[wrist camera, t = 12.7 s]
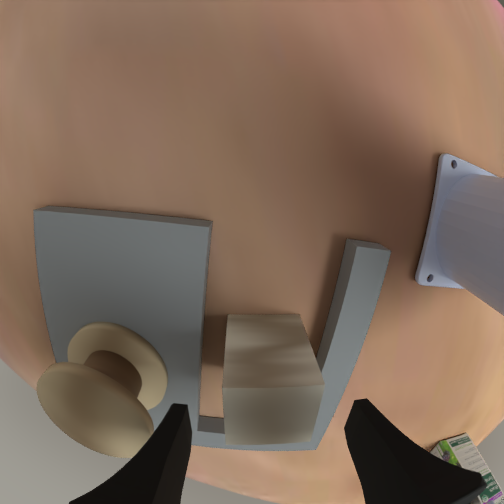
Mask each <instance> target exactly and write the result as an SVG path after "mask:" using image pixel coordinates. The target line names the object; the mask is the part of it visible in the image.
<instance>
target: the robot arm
mask: <svg viewBox="0 0 504 504" xmlns="http://www.w3.org/2000/svg"><path fill="white" fill-rule="evenodd" d="M451 162H453V167H452V166H451ZM429 275H430V277H429V279H428V280H427V277H428V276H429ZM415 280H416V282H417V283H418V284H420V285H425V286H437V287H449V288H461V289H466V290H468V291H469V292H471V293H472V294H474V295H475V296H477V297H478V298H480V299H481V300H482V301H484V302H485V303H487V304H488V305H489V306H491V307H492V308H494V309H495V310H496V311H498V312H499V313H501V314H502V315H503V316H504V178H501V177H497V176H495V175H494V174H492V173H490V172H488V171H486V170H484V169H481V168H479V167H477V166H475V165H473V164H471V163H469V162H466V161H464V160H462V159H460V158H457V157H455V156H453V155H450V154H446V153H443V154H441V156H440V157H439V163H438V171H437V178H436V185H435V191H434V197H433V203H432V208H431V213H430V218H429V223H428V228H427V232H426V237H425V241H424V245H423V249H422V253H421V257H420V260H419V264H418V268H417V271H416V275H415ZM344 430H345V435H346V440H347V445H348V448H349V451H350V454H351V457H352V460H353V462H354V465H355V468H356V471H357V474H358V476H359V479H360V482H361V485H362V489H363V493H364V498H365V503H366V504H471V503H470V502H472V501H473V500H474V499H475V498H476V497H477V496H479V495H480V494H481V493H482V492H483V491H484V490H485V489H486V487H487V483H486V482H485V480H484V478H483V477H482V475H481V473H479V472H475V471H471V470H468V469H464V468H461V467H459V466H456V465H453V464H451V463H449V462H446V461H444V460H442V459H440V458H438V457H436V456H434V455H433V454H431V453H429V452H428V451H426V450H425V449H423V448H422V447H420V446H418V445H417V444H416V443H414V442H413V441H412V440H410V439H409V438H408V437H407V436H405V435H404V434H403V433H402V432H401V431H400V430H398V429H397V428H396V427H395V426H394V425H393V424H392V423H391V422H390V421H389V420H388V419H387V418H386V417H385V416H384V415H383V414H382V413H381V412H380V411H379V410H378V409H377V408H376V407H375V406H374V405H373V404H372V403H371V402H370V401H369V400H368V399H367V398H366V399H360V400H354V403H353V406H352V409H351V411H350V414H349V417H348V419H347V422H346V424H345V427H344ZM191 443H192V427H191V422H190V416H189V410H188V404H178V403H173V404H171V406H170V408H169V410H168V411H167V413H166V415H165V416H164V418H163V420H162V421H161V423H160V424H159V426H158V427H157V428H156V430H155V431H154V433H153V434H152V435H151V437H150V438H149V439H148V441H147V442H146V443H145V444H144V445H143V447H142V448H141V449H140V450H139V451H138V452H137V454H136V455H135V456H134V457H133V458H132V459H131V460H130V461H129V462H128V463H127V464H126V465H125V466H124V467H123V468H121V470H119V471H118V472H117V473H116V474H114V475H113V476H112V477H111V478H110V479H108V480H107V481H105V482H104V483H102V484H101V485H99V486H98V487H96V488H95V489H93V490H92V491H90V492H88V493H86V494H85V495H82V496H80V497H78V498H76V499H75V500H72V501H70V502H69V504H180V501H181V495H182V489H183V484H184V480H185V475H186V471H187V466H188V462H189V457H190V452H191ZM486 504H495V503H494V502H493V500H491V501H489V502H488V503H486Z"/></svg>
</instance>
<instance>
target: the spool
mask: <svg viewBox="0 0 504 504" xmlns="http://www.w3.org/2000/svg"><path fill="white" fill-rule="evenodd" d="M67 354H68V362H59V363H55V364H53V365H51V366H50V367H48V369H47V370H46V371H45V372H44V374H43V375H42V376H41V378H40V379H39V380H38V383H37V395H38V398H39V401H40V403H41V405H42V407H43V409H44V411H45V412H46V414H47V415H48V416H49V417H50V419H51V420H52V421H53V422H54V423H55V424H56V425H57V426H58V427H59V428H60V429H61V430H62V431H63V432H64V433H65V434H67V435H68V436H69V437H71V438H72V439H74V440H75V441H77V442H78V443H80V444H82V445H84V446H85V447H87V448H89V449H91V450H94V451H96V452H99V453H102V454H105V455H109V456H113V457H120V458H131V457H134V456H135V455H136V454H137V452H138V451H139V450H140V449H141V448H142V447H143V445H144V444H145V443H146V442H147V441H148V439H149V438H150V437H151V435H152V434H153V433H154V425H153V421H152V418H151V416H150V414H149V413H148V411H147V410H149V409H152V408H154V407H155V406H157V405H158V404H159V403H160V402H161V401H162V399H163V397H164V395H165V391H166V388H167V384H168V372H167V368H166V365H165V363H164V361H163V359H162V357H161V356H160V354H159V353H158V352H157V350H156V349H155V348H154V347H153V346H152V345H151V344H150V343H149V342H148V341H147V340H146V339H145V338H143V337H142V336H140V335H139V334H138V333H136V332H134V331H133V330H131V329H129V328H127V327H124V326H122V325H119V324H115V323H111V322H93V323H89V324H87V325H85V326H83V327H82V328H81V329H80V330H79V331H78V332H77V333H76V334H75V336H74V337H73V338H72V339H71V341H70V343H69V346H68V352H67Z"/></svg>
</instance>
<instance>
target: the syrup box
mask: <svg viewBox="0 0 504 504" xmlns="http://www.w3.org/2000/svg"><path fill="white" fill-rule="evenodd" d="M430 453H431V454H433V455H434V456H436V457H438V458H440V459H442V460H444V461H446V462H449V463H451V464H453V465H456V466H459V467H461V468H464V469H468V470H471V471H475V472H479V473H481V475H482V477H483V478H484V480H485V482H486V483H487V487H486V489H485V490H484V491H483V492H482V493H481V494H480V495H479V496H477V497H476V498H475V499H474V500H473V501H472V502H470V503H471V504H486V503H488V502H489V501H491V500H493V502H494V503H495V504H504V493H503V491H502V489H501V488H500V486H499V484H498V483H497V481H496V479H495V477H494V476H493V474H492V472H491V471H490V469H489V467H488V466H487V464H486V462H485V461H484V459H483V457H482V456H481V454H480V453H479V451H478V450H477V448H476V446H475V445H474V443H473V442H472V440H471V438H470V437H469V435H468V434H467V433H464V434H463V435H460V436H457V437H454V438H450V439H447V440H442V441H440V442H439V443H438V444H437V445H436V446H435V447H434V449H433V450H432V451H431V452H430Z"/></svg>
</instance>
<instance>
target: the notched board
mask: <svg viewBox="0 0 504 504" xmlns="http://www.w3.org/2000/svg"><path fill="white" fill-rule="evenodd" d="M212 222H213V221H207V220H198V219H189V218H180V217H170V216H160V215H150V214H140V213H130V212H119V211H108V210H96V209H84V208H71V207H58V206H46V207H43V208H39V209H36V210H34V235H35V249H36V260H37V269H38V277H39V284H40V291H41V297H42V303H43V308H44V314H45V318H46V323H47V328H48V332H49V336H50V341H51V345H52V348H53V352H54V356H55V359H56V363H59V362H68V354H67V352H68V346H69V343H70V341H71V339H72V338H73V337H74V336H75V334H76V333H77V332H78V331H79V330H80V329H81V328H82V327H83V326H85V325H87V324H89V323H93V322H111V323H115V324H119V325H122V326H124V327H127V328H129V329H131V330H133V331H134V332H136V333H138V334H139V335H140V336H142V337H143V338H145V339H146V340H147V341H148V342H149V343H150V344H151V345H152V346H153V347H154V348H155V349H156V350H157V352H158V353H159V354H160V356H161V357H162V359H163V361H164V363H165V365H166V368H167V372H168V384H167V388H166V391H165V395H164V397H163V399H162V401H161V402H160V403H159V404H158V405H157V406H155V407H154V408H152V409H149V410H147V411H148V413H149V414H150V416H151V418H152V421H153V425H154V431H155V430H156V428H157V427H158V426H159V424H160V423H161V421H162V420H163V418H164V416H165V415H166V413H167V411H168V410H169V408H170V406H171V404H173V403H178V404H188V410H189V416H190V422H191V427H192V443H191V445H196V446H204V447H213V448H223V449H236V450H256V451H299V450H316V449H317V447H318V445H319V443H320V441H321V439H322V437H323V435H324V433H325V431H326V429H327V427H328V425H329V423H330V421H331V419H332V417H333V415H334V413H335V411H336V409H337V406H338V404H339V402H340V400H341V397H342V395H343V393H344V391H345V388H346V386H347V384H348V381H349V379H350V376H351V374H352V371H353V369H354V366H355V364H356V361H357V359H358V356H359V354H360V351H361V348H362V345H363V343H364V340H365V337H366V334H367V331H368V329H369V326H370V323H371V320H372V317H373V314H374V310H375V307H376V304H377V301H378V298H379V294H380V291H381V287H382V284H383V280H384V277H385V273H386V269H387V266H388V262H389V258H390V254H391V251H390V250H389V249H387V248H385V247H384V246H382V245H381V244H379V243H373V242H366V241H360V240H353V239H347V240H346V245H345V249H344V254H343V258H342V263H341V267H340V272H339V276H338V280H337V284H336V288H335V292H334V296H333V300H332V304H331V308H330V311H329V315H328V319H327V322H326V326H325V330H324V333H323V337H322V340H321V343H320V347H319V350H318V353H317V357H316V360H317V363H318V366H319V369H320V371H321V374H322V377H323V380H324V383H325V388H324V392H323V396H322V400H321V404H320V408H319V412H318V415H317V419H316V423H315V427H314V430H313V434H312V437H311V441H310V442H300V443H287V444H268V445H226V441H225V426H224V419H223V418H213V417H205V416H199V410H200V383H201V361H202V343H203V327H204V313H205V299H206V286H207V274H208V263H209V252H210V241H211V231H212Z"/></svg>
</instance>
